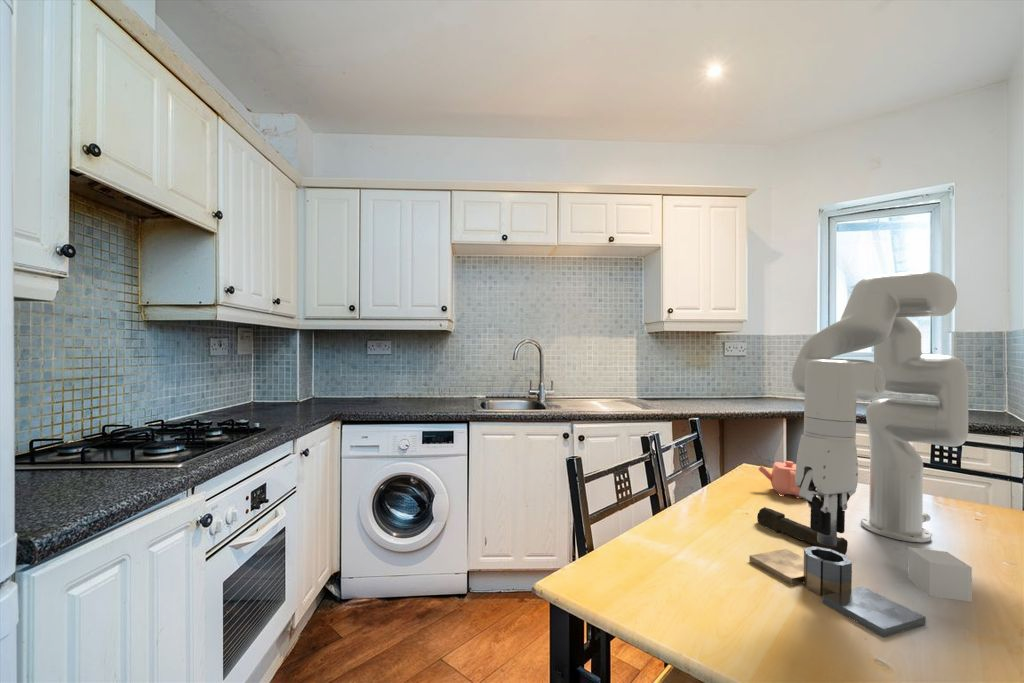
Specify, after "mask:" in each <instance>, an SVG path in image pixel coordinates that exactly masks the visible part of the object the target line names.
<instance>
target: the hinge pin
mask: <svg viewBox="0 0 1024 683" xmlns="http://www.w3.org/2000/svg"><path fill="white" fill-rule="evenodd" d="M817 497H818V498H819V499H820V501H821V497H820V496H817ZM837 500H838V494H831V495H829V505H828V512H829V513H831V532H830V535H828V536H826V535H824V534H821V533H819V532H817V541H818V542H819V543H821V544H824V545H827V546H836V545H837V537H838V536H837V535H838V532H837Z"/></svg>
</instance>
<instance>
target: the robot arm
mask: <svg viewBox="0 0 1024 683" xmlns="http://www.w3.org/2000/svg"><path fill="white" fill-rule="evenodd" d="M957 301H958V292H957V288H956V285H955V284H954V282H953V280H951V279H950V277H948V276H945V275H943V274H941V273H937V272H934V271H928V270H924V271H923V270H922V271H921V270H920V271H909V272H897V273H886V274H877V275H872V276H867V277H864V278H862V279H861V280H859V281H858V282H857V283H856V284H855V285H854V287H853V288H852V290H851V294H850V295H849V298H848V301H847V303H846V306H845V307H844V310H843V313H842V315H841V318H840V320H838V321H836V322H834V323H832V324H830V325H828V326H826V327H825V328H823V329H822V330H820V331H818V332H817V333H814V335H812V336H810V337H809V338H808V339H807V340H806V341H805V343H803V345H802V347H801V348H800V351H799V353H798V355H797V357H796V360H795V362H794V364H793V366H792V371H791V372H792V373H791V380H792V385H793V387H794V389H795V390H796V391H797V392H799V393H801V394H802V395H804V404H803V405H804V407H803V408H804V409H803V414H804V415H803V419H804V420H803V434H801V435H800V440H799V444H798V450H797V455H796V463H795V464H796V476H795V482H796V486H797V487H799V488H800V491H799V496H800V497H802V498H804V500H805V501H806V502H807V505H808V507H809V508H810V521H809V523H810V524H809V525H810V526H809V527H810V528H811V529H812V530H814V531H816V532H819V533H821V534H824V535H826V536H828V535H830V532H831V513H829V512H828V505H829V495H831V494H838V500H837V534H838V533H839V534H844V533H845V526H846V525H845V521H846V520H845V519H846V517H845V516H846V514H845V513H846V511H847V509H848V502H849V500H850V498H851V497H852V496H853V495H854V494H855V493H856V491H857V490H856V489H857V487H858V480H859V461H858V460H859V459H858V451H857V443H856V438H857V436H856V434H857V400H858V401H869V400H872V399H875V398H877V397H878V396H880V395H881V394H882V393H883V392H886V393H890V394H898V395H899V394H900V395H910V396H923V397H933V398H935V399H936V400H937V401H938V402H932V401H921V400H920V401H919V400H914V399H913V400H911V399H900V398H899V399H897V398H880V399H875V400H873V401H871V402H870V403H868V405H867V407H866V409H865V419H866V426H867V431H868V439H869V500H868V501H869V506H868V508H869V513H868V516H863V517H861V519H860V525H861V526H862V527H863V528H865V529H867V530H868V531H870V532H872V533H874V534H877V535H880V536H884V537H887V538H890V539H893V540H899V541H903V542H910V543H928V542H930V541H932V534H931V532H930V531H929V530H927V529H926V528H924V527H923V523H926V522H930V520H931V516H930V515H929V514H928V513H926V512H923V509H924V508H923V506H924V505H923V502H924V501H923V500H924V498H923V497H924V495H923V494H924V487H923V486H924V462H923V460H922V457H921V455H920V454H919V453H918V451H917V450H916V449H915V447H913V446H912V444H911V443H910V442H913V443H921V444H927V445H928V444H929V445H935V446H942V447H955V448H956V447H960V446H963V445H964V444H965V442H966V441H967V439H968V436H969V374H968V370H967V367H966V364H965V362H964V361H963V360H961V359H960V358H958V357H957V356H954V355H946V354H945V355H944V354H923V351H922V333H921V331H920V329H919V328H918V327H917V326H916V324H914V323H913V322H912V320H910V319H909V318H916V317H917V318H919V317H921V318H922V317H943V316H946V315H948V314H950V313H952V311H953V310H954V309H955V306H956V304H957ZM871 347H873V361H871V360H867V359H853V358H851V359H849V358H848V359H847V358H846V359H845V358H834V357H837V356H840V355H844V354H849V353H853V352H858V351H861V350H865V349H867V348H871ZM818 496H820V497H821V501H820V499H819V498H818Z"/></svg>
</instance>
